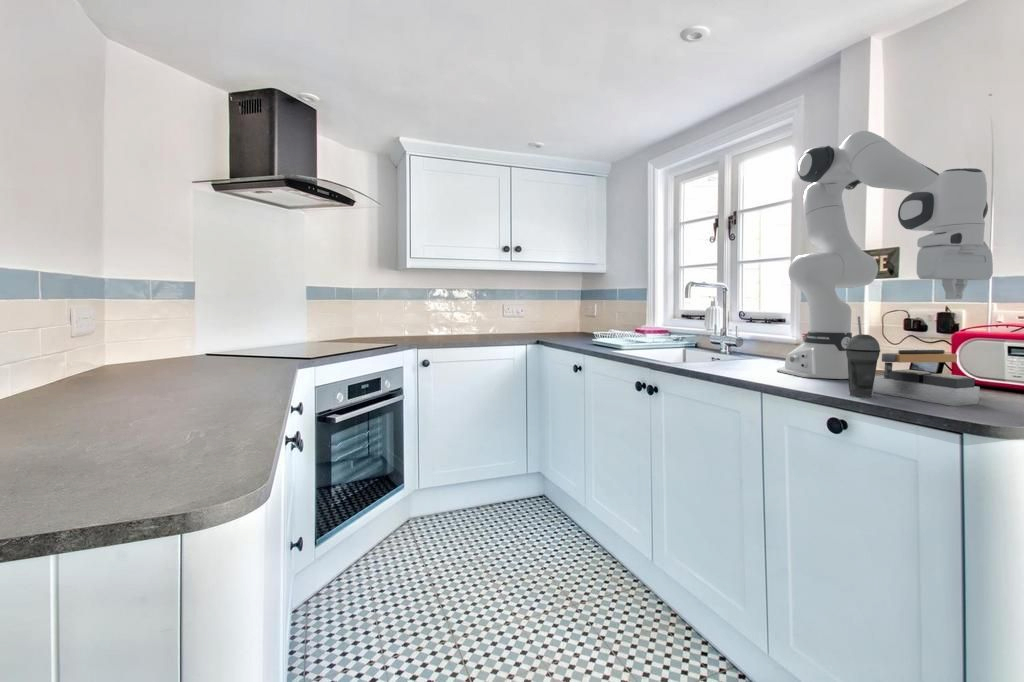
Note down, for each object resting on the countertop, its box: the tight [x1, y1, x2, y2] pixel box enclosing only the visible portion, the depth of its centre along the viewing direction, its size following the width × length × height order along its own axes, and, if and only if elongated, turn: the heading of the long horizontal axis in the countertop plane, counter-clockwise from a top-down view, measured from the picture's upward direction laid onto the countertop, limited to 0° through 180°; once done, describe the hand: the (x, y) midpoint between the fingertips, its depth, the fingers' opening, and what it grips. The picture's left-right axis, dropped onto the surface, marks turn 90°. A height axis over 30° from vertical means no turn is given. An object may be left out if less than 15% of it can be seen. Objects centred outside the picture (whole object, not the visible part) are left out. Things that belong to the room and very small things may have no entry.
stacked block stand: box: [872, 362, 981, 407], centre depth 123 cm, size 20×8×8 cm, turn 17°
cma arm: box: [881, 349, 958, 364], centre depth 131 cm, size 18×4×3 cm, turn 95°
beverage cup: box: [846, 316, 882, 398], centre depth 125 cm, size 7×7×20 cm
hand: (953, 299), depth 116 cm, fingers closed
